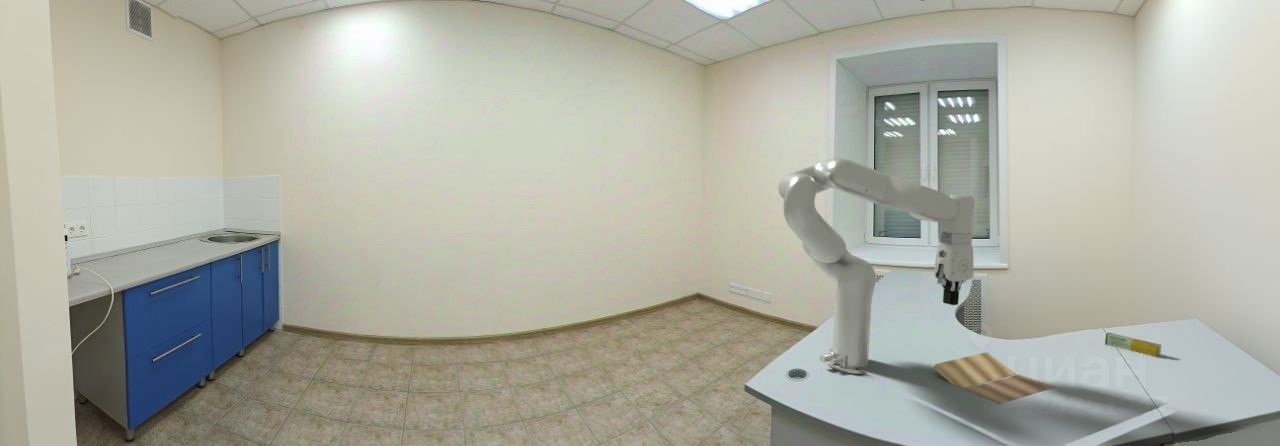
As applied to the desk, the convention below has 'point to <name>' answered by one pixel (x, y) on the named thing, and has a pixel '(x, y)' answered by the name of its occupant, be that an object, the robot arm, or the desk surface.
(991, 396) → the walnut board
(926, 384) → the desk surface
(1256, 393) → the desk surface
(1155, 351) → the medication box
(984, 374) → the oak plank
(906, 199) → the robot arm
